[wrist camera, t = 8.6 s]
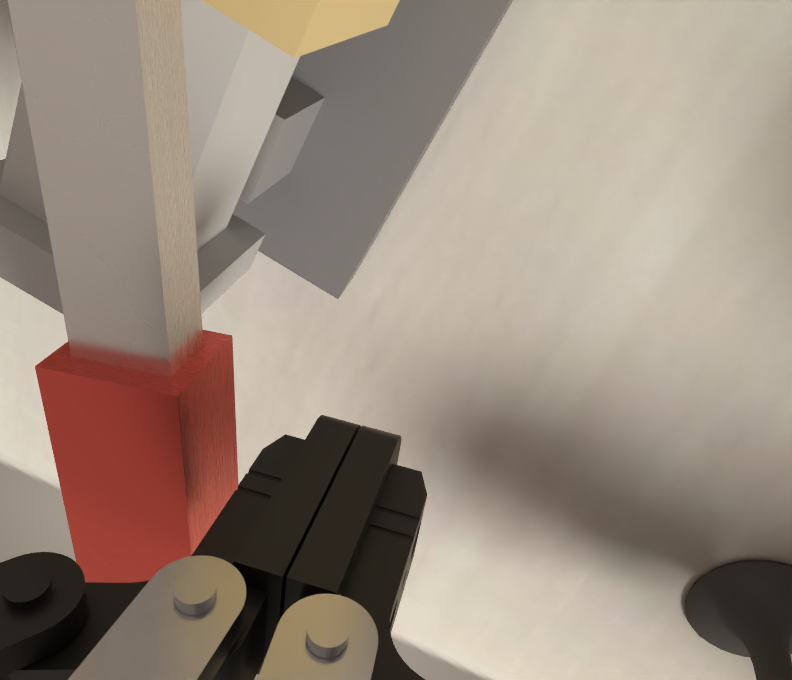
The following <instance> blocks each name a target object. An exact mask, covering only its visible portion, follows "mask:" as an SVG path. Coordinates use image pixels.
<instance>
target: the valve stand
mask: <svg viewBox="0 0 792 680" xmlns="http://www.w3.org/2000/svg"><path fill="white" fill-rule="evenodd" d="M512 1H513V0H181V11H182V26H183V41H184V57H185V72H186V87H187V102H188V118H189V133H190V148H191V163H192V179H193V194H194V209H195V224H196V240H197V255H198V270H199V285H200V301H201V314H202V313H203V312H204V311H205V310H206V309H207V308H208V307H209V306H210V305H212V304H213V303H214V302H215V301H216V300H217V299H218V298H219V297H220V296H221V295H222V294H223V293H224V292H225V291H226V290H227V289H228V288H229V287H230V286H232V285H233V284H234V283H235V282H236V281H237V280H238V279H239V278H240V277H241V276H242V275H243V274H244V273H245V272H246V271H247V270H248V269H249V268H250V266H251V264H252V262H253V260H254V258H255V255H256V253H257V251H260V252H261V253H263V254H264V255H266V256H268V257H269V258H271V259H273V260H274V261H276V262H278V263H279V264H281V265H283V266H284V267H286V268H288V269H289V270H291V271H292V272H294V273H296V274H297V275H299V276H301V277H302V278H304V279H306V280H307V281H309V282H311V283H312V284H314V285H316V286H317V287H319V288H320V289H322V290H324V291H325V292H327V293H329V294H330V295H332V296H334V297H335V298H337V299H338V298H339V297H340V295H341V294H342V293H343V291H344V290H345V288H346V287H347V285H348V284H349V283H350V281H351V280H352V278H353V276H354V274H355V273H356V271H357V269H358V268H359V266H360V264H361V262H362V261H363V259H364V257H365V255H366V254H367V252H368V250H369V248H370V247H371V245H372V243H373V242H374V240H375V238H376V236H377V235H378V233H379V231H380V229H381V228H382V226H383V224H384V223H385V221H386V219H387V217H388V216H389V214H390V212H391V210H392V209H393V207H394V205H395V203H396V202H397V200H398V198H399V197H400V195H401V193H402V191H403V190H404V188H405V186H406V184H407V183H408V181H409V179H410V177H411V176H412V174H413V172H414V171H415V169H416V167H417V165H418V164H419V162H420V160H421V158H422V157H423V155H424V153H425V151H426V150H427V148H428V146H429V145H430V143H431V141H432V139H433V138H434V136H435V134H436V132H437V131H438V129H439V127H440V125H441V124H442V122H443V120H444V119H445V117H446V115H447V113H448V112H449V110H450V108H451V106H452V105H453V103H454V101H455V99H456V98H457V96H458V94H459V93H460V91H461V89H462V87H463V86H464V84H465V82H466V80H467V79H468V77H469V75H470V73H471V72H472V70H473V68H474V67H475V65H476V63H477V61H478V60H479V58H480V56H481V54H482V53H483V51H484V49H485V47H486V46H487V44H488V42H489V41H490V39H491V37H492V35H493V34H494V32H495V30H496V28H497V27H498V25H499V23H500V21H501V20H502V18H503V16H504V15H505V13H506V11H507V9H508V8H509V6H510V4H511V2H512ZM0 277H1V278H3V279H4V280H6V281H8V282H10V283H11V284H13V285H15V286H16V287H18V288H20V289H21V290H23V291H25V292H27V293H28V294H30V295H32V296H33V297H35V298H37V299H38V300H40V301H42V302H44V303H45V304H47V305H49V306H50V307H52V308H54V309H55V310H57V311H59V312H61V313H62V314H64V313H63V307H62V302H61V296H60V291H59V285H58V280H57V274H56V268H55V263H54V257H53V252H52V246H51V241H50V235H49V229H48V224H47V218H46V213H45V207H44V201H43V196H42V190H41V185H40V179H39V174H38V168H37V162H36V157H35V151H34V146H33V140H32V135H31V129H30V123H29V118H28V112H27V107H26V101H25V96H24V90H23V84H22V83H21V88H20V93H19V98H18V103H17V107H16V112H15V117H14V122H13V127H12V132H11V136H10V141H9V146H8V151H7V156H6V159H3V160H0Z"/></svg>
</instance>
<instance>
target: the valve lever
mask: <svg viewBox="0 0 792 680" xmlns="http://www.w3.org/2000/svg"><path fill="white" fill-rule="evenodd" d="M7 1H8V6H9V12H10V17H11V23H12V29H13V34H14V40H15V45H16V51H17V56H18V62H19V68H20V73H21V79H22V84H23V90H24V96H25V101H26V107H27V112H28V118H29V123H30V129H31V135H32V140H33V146H34V151H35V157H36V162H37V168H38V174H39V179H40V185H41V190H42V196H43V201H44V207H45V213H46V218H47V224H48V229H49V235H50V241H51V246H52V252H53V257H54V263H55V268H56V274H57V280H58V285H59V291H60V296H61V302H62V307H63V313H64V319H65V324H66V330H67V335H68V342H67V343H65V344H64V345H63V346H61V347H60V348H59V349H57V350H56V351H55V352H53V353H52V354H51V355H49V356H48V357H47V358H45V359H44V360H43V361H42V362H40V363H39V364H38V365H36V366H35V369H36V374H37V378H38V383H39V388H40V392H41V397H42V402H43V407H44V411H45V416H46V421H47V425H48V430H49V435H50V440H51V444H52V449H53V454H54V458H55V463H56V468H57V473H58V477H59V482H60V487H61V491H62V496H63V501H64V506H65V510H66V515H67V520H68V524H69V529H70V534H71V538H72V543H73V547H74V553H75V557H76V562H77V564H78V565H79V566H80V568H81V569H82V571H83V574H84V577H85V582H104V583H132V582H142V581H148V580H150V579H151V578H152V577H153V576H154V575H155V574H156V573H157V572H158V571H159V570H160V569H162V568H163V567H164V566H166V565H168V564H170V563H171V562H174V561H176V560H179V559H181V558H185V557H189V556H191V555H192V554H193V552H194V551H195V550H196V548H197V547H198V545H199V544H200V542H201V541H202V539H203V538H204V536H205V535H206V533H207V532H208V530H209V529H210V527H211V526H212V524H213V523H214V521H215V520H216V518H217V517H218V515H219V514H220V512H221V511H222V509H223V508H224V506H225V505H226V503H227V502H228V500H229V499H230V497H231V496H232V494H233V493H234V491H235V490H236V491H237V489H238V466H237V441H236V417H235V392H234V368H233V343H232V335H226V334H221V333H216V332H211V331H206V330H202V316H201V301H200V285H199V270H198V255H197V240H196V224H195V209H194V194H193V179H192V163H191V148H190V133H189V118H188V102H187V87H186V72H185V57H184V41H183V26H182V11H181V0H7Z"/></svg>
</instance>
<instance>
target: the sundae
mask: <svg viewBox="0 0 792 680" xmlns="http://www.w3.org/2000/svg"><path fill="white" fill-rule="evenodd" d="M685 610H686V616H687V620H688V621H689V623H690V624H691V626H692V628H693V629H694V630H695V631H696V632H697V634H698V635H699V636H701V637H702V638H703V639H705V640H706V641H708V642H709V643H711V644H713V645H714V646H716V647H718V648H720V649H721V650H724V651H727V652H730V653H733V654H737V655H741V656H745V657H751V660H752V663H753V666H754V670H755V674H756V679H757V680H792V663H791V658H790V654H791V653H792V567H791V566H788V565H784V564H780V563H775V562H771V561H744V562H737V563H733V564H729V565H726V566H723V567H720V568H717V569H715V570H713V571H711V572H710V573H708V574H707V575H705V576H704V577H702V578H701V579H700V580H699V581H697V582H696V583H695V584H694V586H693V587H692V589H691V590H690V592H689V594H688V596H687V599H686V601H685Z"/></svg>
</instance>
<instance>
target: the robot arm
mask: <svg viewBox="0 0 792 680" xmlns="http://www.w3.org/2000/svg"><path fill="white" fill-rule="evenodd" d="M400 445H401V436H399V435H395V434H392V433H388V432H384V431H381V430H377V429H373V428H369V427H366V426H360V425H357V424H354V423H350V422H346V421H343V420H339V419H335V418H332V417H328V416H324V415H321V416H320V417H319V418H318V419H317V421H316V423H315V424H314V426H313V428H312V429H311V431H310V433H309V434H308V436H307V438H306V439H305V440H303V439H300V438H296V437H292V436H289V435H284V436H283V437H281V438H279V439H278V440H276V441H275V442H273V443H272V444H270V445H269V446H267V447H265V448H264V449H263V450H262V451H261V453H260V454H259V456H258V457H257V459H256V460H255V462H254V463H253V465H252V466H251V468H250V469H249V472H248V474H247V473H246V475H245V476H244V478H243V479H242V481H241V482H240V484H239V485H238V489H237V491H236V490H235V491H234V493H233V494H232V496H231V497H230V499H229V500H228V502H227V503H226V505H225V506H224V508H223V509H222V511H221V512H220V514H219V515H218V517H217V518H216V520H215V521H214V523H213V524H212V526H211V527H210V529H209V530H208V532H207V533H206V535H205V536H204V538H203V539H202V541H201V542H200V544H199V545H198V547H197V548H196V550H195V551H194V552H193V554H192V555H191V556H189V557H185V558H181V559H179V560H176V561H174V562H171V563H170V564H168V565H166V566H164V567H163V568H162V569H160V570H159V571H158V572H157V573H156V574H155V575H154V576H153V577H152V578H151V579H150V580H148V581H142V582H132V583H104V582H85V577H84V574H83V571H82V569H81V568H80V566H79V565H78V564H77V563H76V562H75V561H74V560H72V559H71V558H69V557H67V556H64V555H62V554H57V553H51V552H37V553H30V554H25V555H21V556H18V557H15V558H12V559H10V560H7V561H4V562H1V563H0V680H254V678H255V676H256V674H259V676H258V679H257V680H425V679H423V678H422V677H421V676H419V675H418V674H417V673H415V672H414V671H413V670H411V669H410V668H409V666H408V665H407V664H406V663H405V662H404V661H403V660H402V658H401V657H400V656H399V654H398V652H397V650H396V648H395V646H394V645H393V641H392V638H391V631H392V627H393V624H394V621H395V617H396V614H397V610H398V607H399V604H400V600H401V597H402V593H403V590H404V587H405V583H406V579H407V577H408V573H409V570H410V566H411V563H412V560H413V556H414V552H415V547H416V543H417V538H418V534H419V529H420V525H421V520H422V516H423V511H424V507H425V502H426V497H427V493H426V489H425V484H424V480H423V476H422V472H420V471H416V470H413V469H409V468H406V467H402V466H398V465H397V462H398V456H399V451H400Z"/></svg>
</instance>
